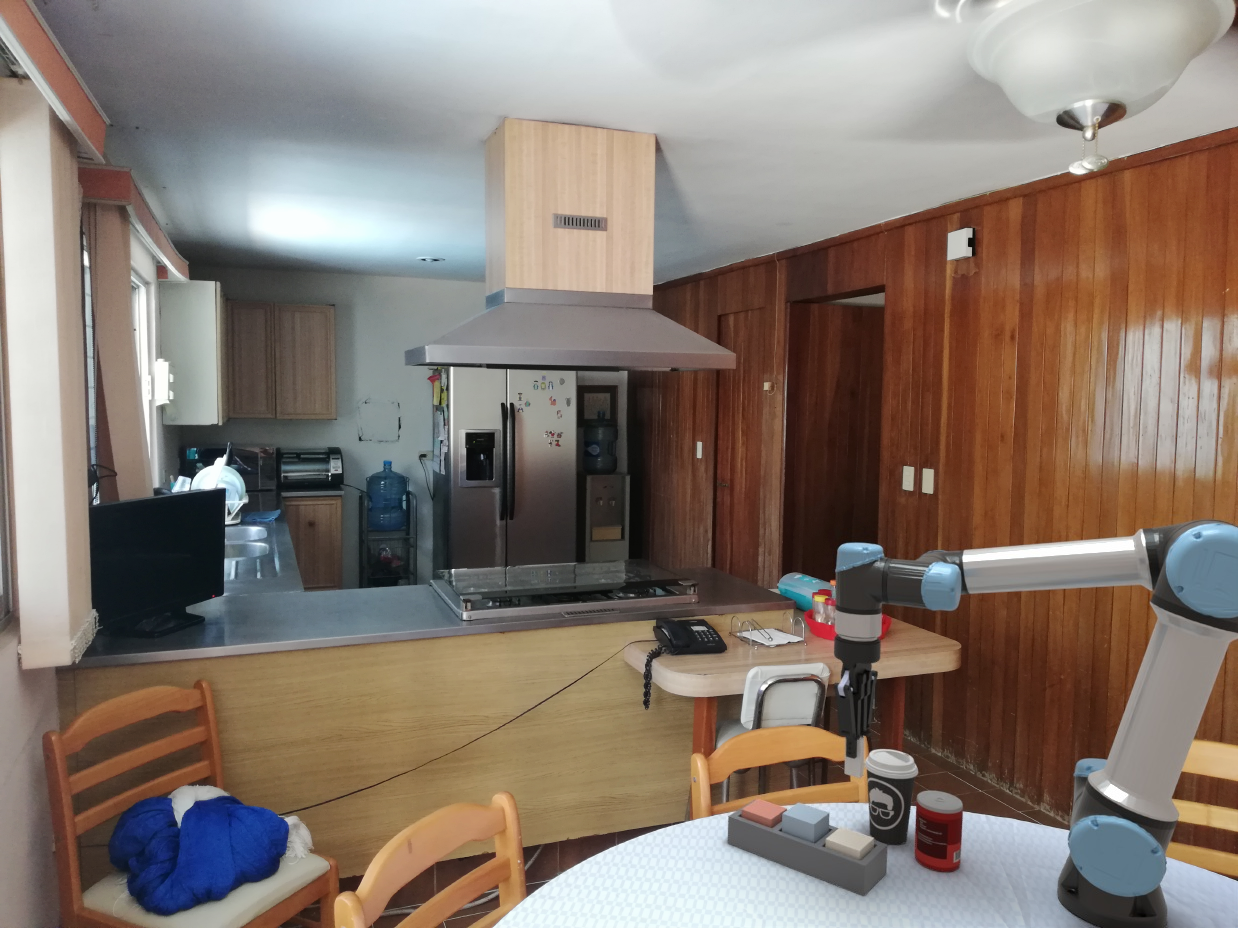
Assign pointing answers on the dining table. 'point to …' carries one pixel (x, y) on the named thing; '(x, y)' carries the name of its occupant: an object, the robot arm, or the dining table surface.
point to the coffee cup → (890, 794)
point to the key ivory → (850, 843)
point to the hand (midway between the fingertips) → (853, 774)
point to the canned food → (938, 830)
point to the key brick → (763, 813)
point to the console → (809, 854)
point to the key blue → (805, 822)
